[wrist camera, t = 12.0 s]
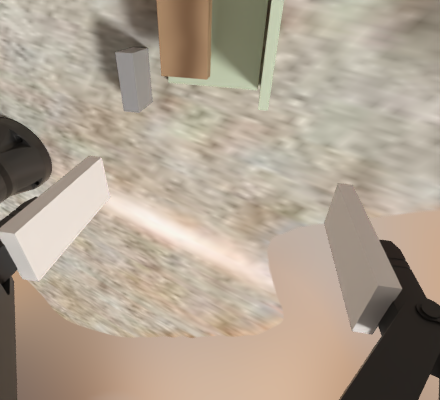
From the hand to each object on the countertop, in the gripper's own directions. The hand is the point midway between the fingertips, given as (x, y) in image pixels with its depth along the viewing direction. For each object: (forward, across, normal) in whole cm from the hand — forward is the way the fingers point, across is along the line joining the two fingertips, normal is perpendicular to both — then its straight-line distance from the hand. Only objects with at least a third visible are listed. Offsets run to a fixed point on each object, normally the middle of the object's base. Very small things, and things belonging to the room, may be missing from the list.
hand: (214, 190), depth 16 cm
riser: (+33, -17, -1) cm, 37 cm away
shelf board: (+27, -8, +7) cm, 29 cm away
